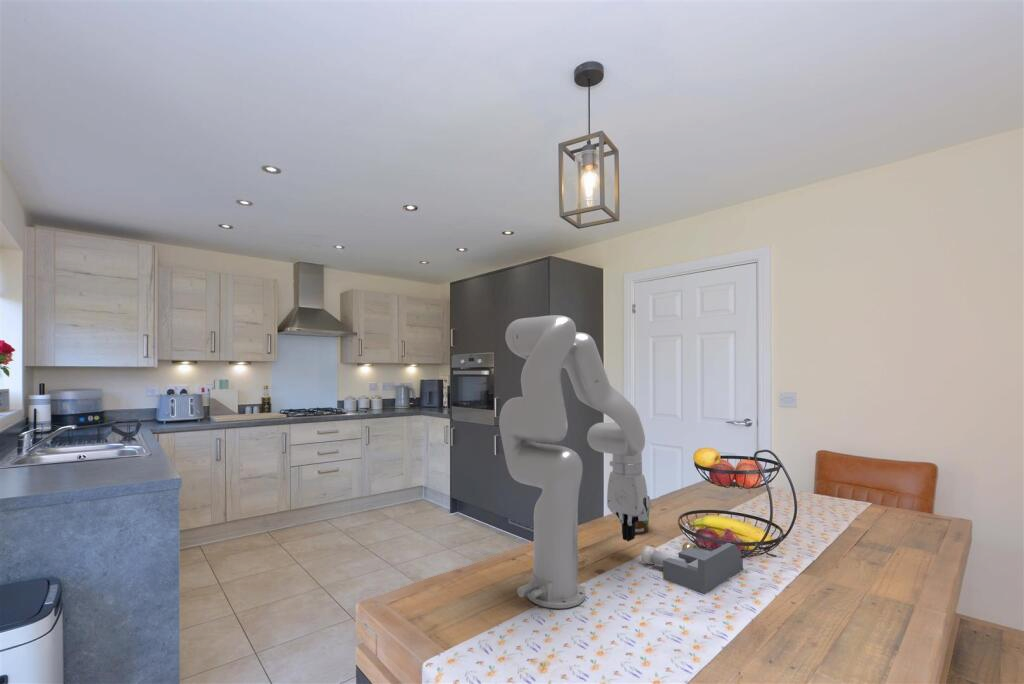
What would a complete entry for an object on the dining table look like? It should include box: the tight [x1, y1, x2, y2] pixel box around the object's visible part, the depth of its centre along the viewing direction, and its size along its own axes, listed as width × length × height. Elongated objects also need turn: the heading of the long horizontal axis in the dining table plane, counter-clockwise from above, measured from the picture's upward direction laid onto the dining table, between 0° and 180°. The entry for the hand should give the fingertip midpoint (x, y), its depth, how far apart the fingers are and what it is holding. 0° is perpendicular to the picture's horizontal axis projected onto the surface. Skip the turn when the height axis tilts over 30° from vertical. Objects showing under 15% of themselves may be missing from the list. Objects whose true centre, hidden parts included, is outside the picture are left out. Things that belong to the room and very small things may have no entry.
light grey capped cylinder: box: [640, 545, 686, 567], centre depth 117 cm, size 4×10×4 cm, turn 42°
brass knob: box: [681, 542, 711, 553], centre depth 120 cm, size 4×10×4 cm, turn 42°
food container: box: [635, 495, 653, 536], centre depth 147 cm, size 12×6×10 cm, turn 179°
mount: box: [662, 537, 744, 594], centre depth 115 cm, size 20×10×7 cm, turn 132°
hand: (628, 539), depth 125 cm, fingers closed
